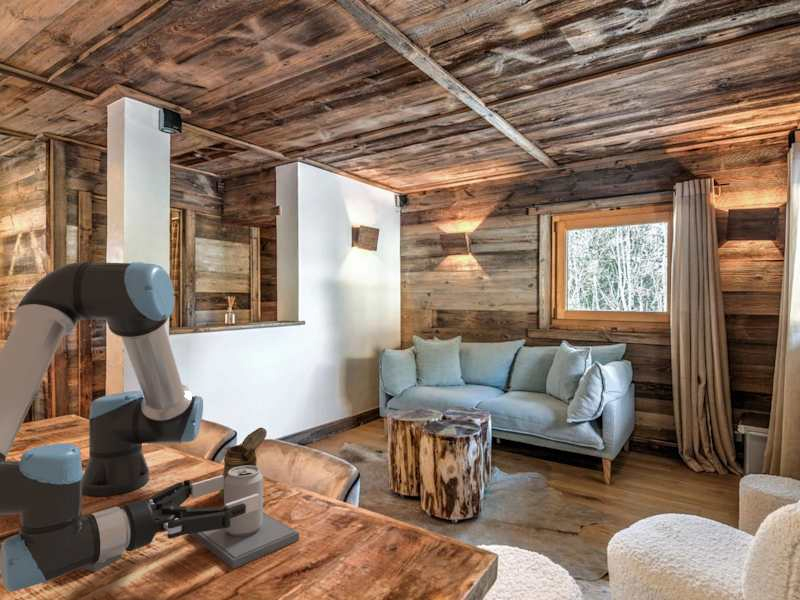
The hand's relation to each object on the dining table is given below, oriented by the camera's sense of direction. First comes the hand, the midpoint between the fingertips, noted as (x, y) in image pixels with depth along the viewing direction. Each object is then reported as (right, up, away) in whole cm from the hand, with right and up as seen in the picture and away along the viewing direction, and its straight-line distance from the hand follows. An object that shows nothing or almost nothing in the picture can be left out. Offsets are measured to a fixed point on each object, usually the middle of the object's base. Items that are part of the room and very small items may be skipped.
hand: (239, 491), depth 95 cm
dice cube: (-23, -10, -8) cm, 26 cm away
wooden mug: (-6, -10, +20) cm, 23 cm away
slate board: (+1, -10, +1) cm, 10 cm away
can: (0, -8, +1) cm, 8 cm away
